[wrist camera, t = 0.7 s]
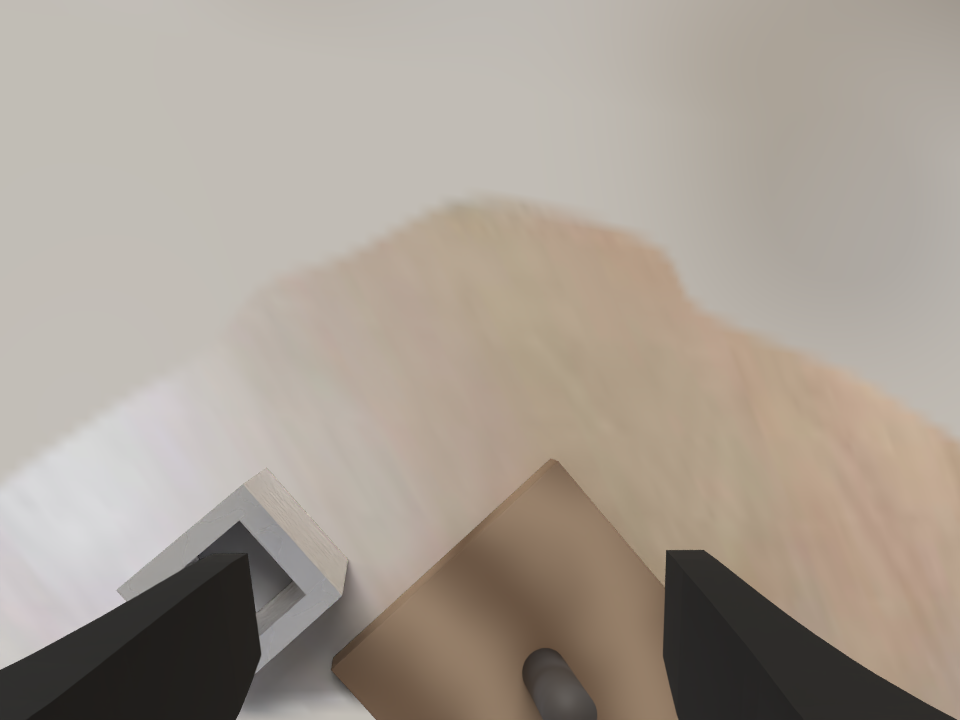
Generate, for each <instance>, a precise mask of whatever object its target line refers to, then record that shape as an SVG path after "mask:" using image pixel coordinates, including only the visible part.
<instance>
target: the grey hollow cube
mask: <svg viewBox="0 0 960 720" xmlns="http://www.w3.org/2000/svg"><path fill="white" fill-rule="evenodd" d="M238 521H240V522H241V523H242V524H243V525H244V526H245V527H246V528H247V529H248V531H249V532H250V533H251V534H252V535H253V536H254V537H255V538H256V539H257V541H258V542H259V543H260V544H261V545H262V546H263V547H264V548H265V549H266V551H267V552H268V553H269V554H270V555H271V556H272V557H273V558H274V560H275V561H276V562H277V563H278V564H279V565H280V566H281V567H282V568H283V570H284V571H285V572H286V573H287V574H288V575H289V576H290V577H291V578H292V580H293V581H292V582H291V583H290V584H289V585H288V586H287V587H286V588H284V589H283V590H282V591H281V592H280V593H279V594H278V595H277V596H275V597H274V598H273V599H272V600H271V601H270V602H269V603H267V604H266V605H265V606H264V607H263V608H262V609H261V610H259V611H258V612H257V613H256V618H257V625H258V633H259V640H260V647H261V654H262V655H261V658H260V661H259V663H258V666H257V669H256V672H255V674H256V673H257V672H258V671H259V670H260V669H261V668H262V667H263V666H265V665H266V664H267V663H268V662H269V661H270V660H271V659H272V658H273V657H275V656H276V655H277V654H278V653H279V652H280V651H281V650H282V649H283V648H285V647H286V646H287V645H288V644H289V643H290V642H291V641H292V640H294V639H295V638H296V637H297V636H298V635H299V634H300V633H301V632H302V631H304V630H305V629H306V628H307V627H308V626H309V625H310V624H311V623H312V622H314V621H315V620H316V619H317V618H318V617H319V616H320V615H321V614H322V613H324V612H325V611H326V610H327V609H328V608H329V607H330V606H331V605H332V604H334V603H335V602H336V601H337V600H338V599H339V598H340V597H341V596H342V594H343V588H344V582H345V576H346V570H347V563H348V559H347V558H346V556H345V555H344V554H343V553H342V552H341V551H340V550H339V549H338V547H337V546H336V545H335V544H334V543H333V542H332V541H331V540H330V538H329V537H328V536H327V535H326V534H325V533H324V532H323V531H322V529H321V528H320V527H319V526H318V525H317V524H316V523H315V522H314V520H313V519H312V518H311V517H310V516H309V515H308V514H307V513H306V511H305V510H304V509H303V508H302V507H301V506H300V505H299V504H298V502H297V501H296V500H295V499H294V498H293V497H292V496H291V494H290V493H289V492H288V491H287V490H286V489H285V488H284V487H283V485H282V484H281V483H280V482H279V481H278V480H277V479H276V478H275V476H274V475H273V474H272V473H271V472H270V471H269V470H268V469H267V468H265V469H264V470H262V471H261V472H259V473H258V474H257V475H255V476H254V477H252V478H251V479H250V480H248V481H247V482H245V483H244V484H243V485H241V486H240V487H239V488H238V489H237V490H235V491H234V492H233V493H232V494H231V495H229V496H228V497H227V498H226V499H225V500H223V501H222V502H221V503H220V504H219V505H217V506H216V507H215V508H214V509H213V510H211V511H210V512H209V513H208V514H207V515H206V516H204V517H203V518H202V519H201V520H200V521H198V522H197V523H196V524H195V525H194V526H192V527H191V528H190V529H189V530H188V531H186V532H185V533H184V534H183V535H182V536H180V537H179V538H178V539H177V540H176V541H174V542H173V543H172V544H171V545H170V546H168V547H167V548H166V549H165V550H164V551H163V552H161V553H160V554H159V555H158V556H157V557H155V558H154V559H153V560H152V561H151V562H149V563H148V564H147V565H146V566H145V567H143V568H142V569H141V570H140V571H139V572H137V573H136V574H135V575H134V576H133V577H131V578H130V579H129V580H128V581H127V582H125V583H124V584H123V585H122V586H121V587H120V588H118V589H117V590H116V591H117V592H118V593H119V594H120V595H121V596H122V597H123V598H124V599H125V600H126V601H129V600H131V599H132V598H134V597H136V596H138V595H139V594H141V593H143V592H144V591H146V590H148V589H150V588H151V587H153V586H155V585H156V584H158V583H160V582H161V581H163V580H165V579H167V578H168V577H170V576H172V575H174V574H175V573H177V572H179V571H181V570H182V569H184V568H186V567H188V566H190V565H191V564H193V563H195V562H197V561H199V560H200V558H199V557H198V555H199V554H200V553H201V552H202V551H204V550H205V549H206V548H207V547H208V546H210V545H211V544H212V543H213V542H214V541H215V540H217V539H218V538H219V537H220V536H221V535H223V534H224V533H225V532H226V531H227V530H228V529H230V528H231V527H232V526H233V525H234V524H236V523H237V522H238ZM255 674H254V675H255Z"/></svg>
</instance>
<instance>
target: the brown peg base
mask: <svg viewBox="0 0 960 720" xmlns="http://www.w3.org/2000/svg"><path fill="white" fill-rule="evenodd" d="M664 604H665V587H664V586H663V585H662V584H661V583H660V581H659V580H658V579H657V578H656V577H655V575H654V574H653V573H652V572H651V571H650V570H649V568H648V567H647V566H646V565H645V564H644V562H643V561H642V560H641V559H640V558H639V557H638V555H637V554H636V553H635V552H634V551H633V549H632V548H631V547H630V546H629V545H628V543H627V542H626V541H625V540H624V539H623V538H622V536H621V535H620V534H619V533H618V532H617V530H616V529H615V528H614V527H613V526H612V525H611V523H610V522H609V521H608V520H607V519H606V517H605V516H604V515H603V514H602V513H601V511H600V510H599V509H598V508H597V507H596V506H595V504H594V503H593V502H592V501H591V500H590V498H589V497H588V496H587V495H586V494H585V493H584V491H583V490H582V489H581V488H580V487H579V485H578V484H577V483H576V482H575V481H574V479H573V478H572V477H571V476H570V475H569V474H568V472H567V471H566V470H565V469H564V468H563V466H562V465H561V464H560V463H559V462H558V461H556V460H553V459H550V460H549V461H548V462H547V463H546V464H545V465H543V466H542V467H541V468H540V469H539V470H538V471H537V472H536V473H535V474H534V475H532V476H531V477H530V478H529V479H528V480H527V481H526V482H525V483H524V484H523V485H522V486H520V487H519V488H518V489H517V490H516V491H515V492H514V493H513V494H512V495H511V496H510V497H508V498H507V499H506V500H505V501H504V502H503V503H502V504H501V505H500V506H499V507H498V508H496V509H495V510H494V511H493V512H492V513H491V514H490V515H489V516H488V517H487V518H485V519H484V520H483V521H482V522H481V523H480V524H479V525H478V526H477V527H476V528H475V529H473V530H472V531H471V532H470V533H469V534H468V535H467V536H466V537H465V538H464V539H463V540H461V541H460V542H459V543H458V544H457V545H456V546H455V547H454V548H453V549H452V550H451V551H449V552H448V553H447V554H446V555H445V556H444V557H443V558H442V559H441V560H440V561H438V562H437V563H436V564H435V565H434V566H433V567H432V568H431V569H430V570H429V571H428V572H426V573H425V574H424V575H423V576H422V577H421V578H420V579H419V580H418V581H417V582H416V583H414V584H413V585H412V586H411V587H410V588H409V589H408V590H407V591H406V592H405V593H404V594H402V595H401V596H400V597H399V598H398V599H397V600H396V601H395V602H394V603H393V604H391V605H390V606H389V607H388V608H387V609H386V610H385V611H384V612H383V613H382V614H381V615H379V616H378V617H377V618H376V619H375V620H374V621H373V622H372V623H371V624H370V625H369V626H367V627H366V628H365V629H364V630H363V631H362V632H361V633H360V634H359V635H358V636H356V637H355V638H354V639H353V640H352V641H351V642H350V643H349V644H348V645H347V646H346V647H344V648H343V649H342V650H341V651H340V652H339V653H338V654H337V655H336V656H335V657H334V658H333V661H332V668H331V670H332V671H333V673H334V674H335V675H336V676H337V677H338V678H339V679H340V680H341V681H342V683H343V684H344V685H345V686H346V687H347V688H348V689H349V690H350V691H351V692H352V694H353V695H354V696H355V697H356V698H357V699H358V700H359V701H360V702H361V704H362V705H363V706H364V707H365V708H366V709H367V710H368V711H369V712H370V713H371V715H372V716H373V717H374V718H375V719H376V720H678V717H677V714H676V710H675V706H674V702H673V698H672V694H671V690H670V685H669V681H668V677H667V672H666V668H665V664H664V659H663V633H664Z"/></svg>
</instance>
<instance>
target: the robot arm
mask: <svg viewBox="0 0 960 720" xmlns="http://www.w3.org/2000/svg"><path fill="white" fill-rule="evenodd" d="M261 655H262V654H261V647H260V640H259V633H258V625H257V618H256V611H255V604H254V597H253V590H252V583H251V575H250V568H249V561H248V554H247V553H236V554H212V555H210V556H207V557H205V558H203V559H201V560H199V561H197V562H195V563H193V564H191V565H190V566H188V567H186V568H184V569H182V570H181V571H179V572H177V573H175V574H174V575H172V576H170V577H168V578H167V579H165V580H163V581H161V582H160V583H158V584H156V585H155V586H153V587H151V588H150V589H148V590H146V591H144V592H143V593H141V594H139V595H138V596H136V597H134V598H132V599H131V600H129V601H127V602H126V603H124V604H122V605H120V606H119V607H117V608H115V609H114V610H112V611H110V612H108V613H107V614H105V615H103V616H101V617H100V618H98V619H96V620H94V621H92V622H90V623H89V624H87V625H85V626H83V627H81V628H79V629H78V630H76V631H74V632H72V633H70V634H68V635H67V636H65V637H63V638H61V639H59V640H57V641H56V642H54V643H52V644H50V645H48V646H46V647H45V648H43V649H41V650H39V651H37V652H35V653H33V654H31V655H29V656H27V657H26V658H24V659H22V660H20V661H18V662H16V663H14V664H11V665H9V666H7V667H5V668H3V669H1V670H0V720H236V718H237V716H238V714H239V712H240V710H241V708H242V705H243V703H244V700H245V698H246V695H247V693H248V690H249V688H250V685H251V682H252V680H253V677H254V674H255V672H256V669H257V666H258V663H259V661H260V658H261ZM663 659H664V664H665V668H666V672H667V677H668V681H669V685H670V690H671V694H672V698H673V702H674V706H675V710H676V714H677V717H678V720H957V719H955V718H953V717H951V716H949V715H947V714H945V713H943V712H941V711H940V710H938V709H936V708H934V707H932V706H930V705H928V704H927V703H925V702H923V701H921V700H920V699H918V698H916V697H914V696H913V695H911V694H909V693H907V692H906V691H904V690H902V689H901V688H899V687H897V686H895V685H894V684H892V683H890V682H888V681H887V680H885V679H883V678H882V677H880V676H878V675H876V674H875V673H873V672H872V671H870V670H868V669H867V668H865V667H864V666H862V665H860V664H859V663H857V662H856V661H854V660H852V659H851V658H849V657H848V656H846V655H845V654H844V653H842V652H841V651H839V650H838V649H836V648H835V647H833V646H832V645H830V644H829V643H827V642H826V641H824V640H823V639H821V638H820V637H818V636H817V635H815V634H814V633H812V632H811V631H810V630H808V629H807V628H805V627H804V626H803V625H801V624H800V623H798V622H797V621H796V620H794V619H793V618H792V617H790V616H789V615H788V614H786V613H785V612H783V611H782V610H781V609H779V608H778V607H777V606H776V605H774V604H773V603H772V602H770V601H769V600H768V599H766V598H765V597H764V596H762V595H761V594H760V593H759V592H757V591H756V590H755V589H753V588H752V587H751V586H750V585H748V584H747V583H746V582H745V581H743V580H742V579H741V578H739V577H738V576H737V575H736V574H734V573H733V572H732V571H731V570H729V569H728V568H727V567H726V566H724V565H723V564H722V563H720V562H719V561H718V560H717V559H715V558H714V557H713V556H711V555H710V554H708V553H707V552H706V551H704V550H666V575H665V604H664V633H663Z"/></svg>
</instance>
